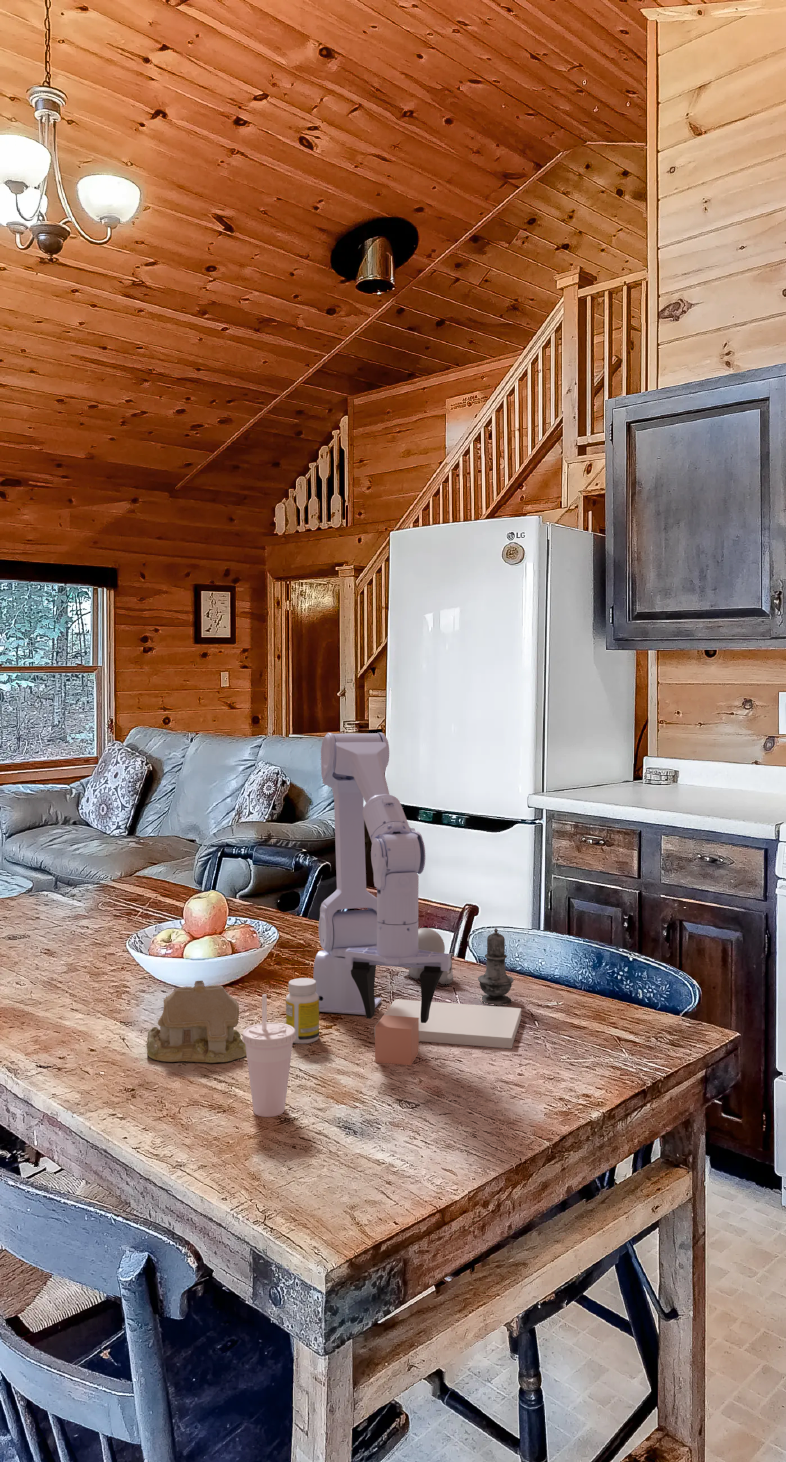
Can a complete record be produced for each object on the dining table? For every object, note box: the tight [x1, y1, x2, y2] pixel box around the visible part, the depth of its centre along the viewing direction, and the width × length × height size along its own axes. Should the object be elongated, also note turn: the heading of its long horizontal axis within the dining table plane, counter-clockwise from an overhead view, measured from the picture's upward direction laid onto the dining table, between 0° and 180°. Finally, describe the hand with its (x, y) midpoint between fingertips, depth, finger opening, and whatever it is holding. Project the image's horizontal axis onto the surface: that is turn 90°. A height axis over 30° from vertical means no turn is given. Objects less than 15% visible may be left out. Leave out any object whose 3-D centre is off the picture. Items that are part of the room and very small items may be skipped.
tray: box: [373, 998, 522, 1049], centre depth 150 cm, size 20×14×2 cm
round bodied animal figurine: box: [403, 927, 454, 986], centre depth 176 cm, size 7×12×8 cm, turn 34°
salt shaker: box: [477, 927, 515, 1006], centre depth 163 cm, size 6×6×12 cm
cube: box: [374, 1014, 420, 1066], centre depth 138 cm, size 5×5×5 cm
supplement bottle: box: [285, 977, 320, 1045], centre depth 145 cm, size 5×5×8 cm
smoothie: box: [241, 993, 296, 1118], centre depth 119 cm, size 6×6×14 cm
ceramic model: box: [146, 980, 247, 1064], centre depth 140 cm, size 14×11×10 cm
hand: (397, 1018), depth 137 cm, fingers open, 7 cm apart
